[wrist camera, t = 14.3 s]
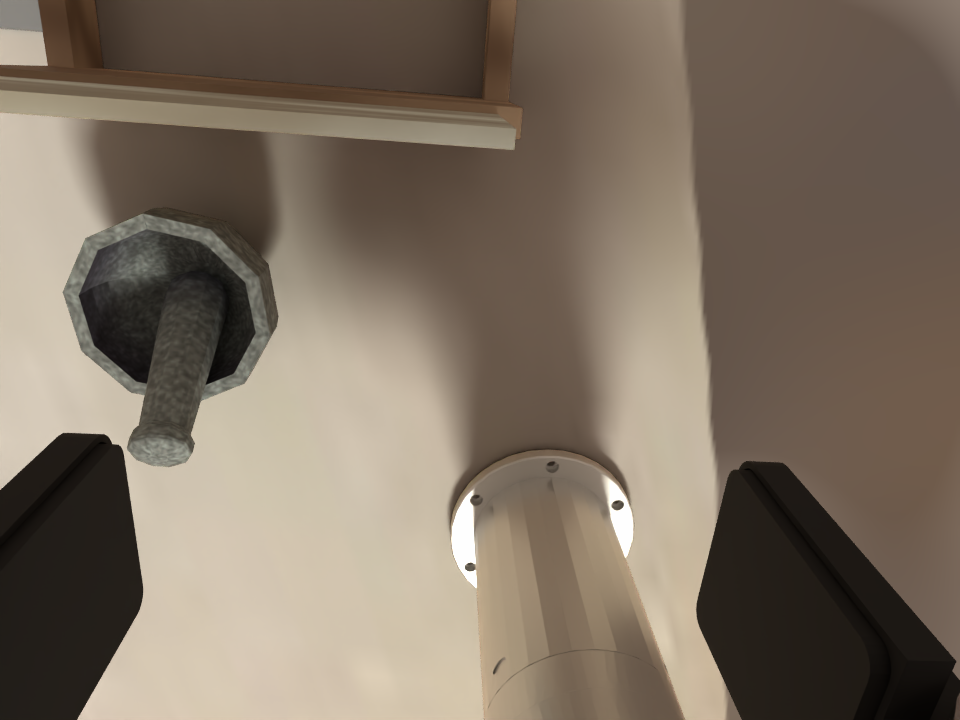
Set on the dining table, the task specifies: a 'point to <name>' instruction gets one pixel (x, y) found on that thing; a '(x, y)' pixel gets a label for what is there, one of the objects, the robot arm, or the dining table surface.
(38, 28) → the slate mat
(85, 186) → the dining table surface
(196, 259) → the mortar and pestle
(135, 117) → the box
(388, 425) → the dining table surface
